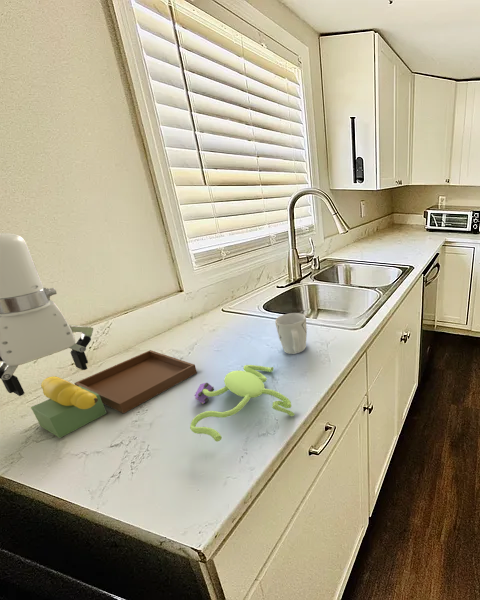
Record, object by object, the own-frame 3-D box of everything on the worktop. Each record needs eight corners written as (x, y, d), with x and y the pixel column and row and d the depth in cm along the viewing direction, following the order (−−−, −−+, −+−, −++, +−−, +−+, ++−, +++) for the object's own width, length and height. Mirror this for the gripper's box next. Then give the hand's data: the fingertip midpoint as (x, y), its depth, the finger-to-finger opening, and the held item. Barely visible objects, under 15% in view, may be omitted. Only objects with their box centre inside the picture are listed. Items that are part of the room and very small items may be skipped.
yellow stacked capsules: (32, 394, 70) (28, 377, 69) (59, 386, 73) (56, 369, 73) (74, 417, 63) (70, 398, 62) (101, 406, 67) (98, 389, 66)
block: (40, 426, 68) (30, 407, 66) (87, 403, 75) (79, 385, 73) (59, 438, 65) (49, 418, 63) (106, 413, 72) (99, 394, 70)
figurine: (197, 464, 59) (189, 440, 57) (192, 388, 80) (187, 369, 78) (299, 424, 68) (295, 402, 66) (271, 365, 89) (267, 347, 87)
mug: (314, 356, 93) (310, 325, 89) (283, 364, 90) (278, 331, 86) (306, 339, 103) (302, 310, 99) (278, 346, 99) (273, 316, 96)
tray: (78, 392, 79) (74, 383, 78) (153, 357, 94) (150, 349, 93) (123, 413, 72) (119, 404, 71) (197, 372, 86) (194, 364, 85)
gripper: (68, 285, 69) (94, 356, 75) (-66, 314, 54) (-20, 399, 60) (87, 291, 66) (112, 363, 72) (-49, 323, 51) (-2, 411, 57)
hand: (52, 380), depth 66 cm, fingers open, 9 cm apart
